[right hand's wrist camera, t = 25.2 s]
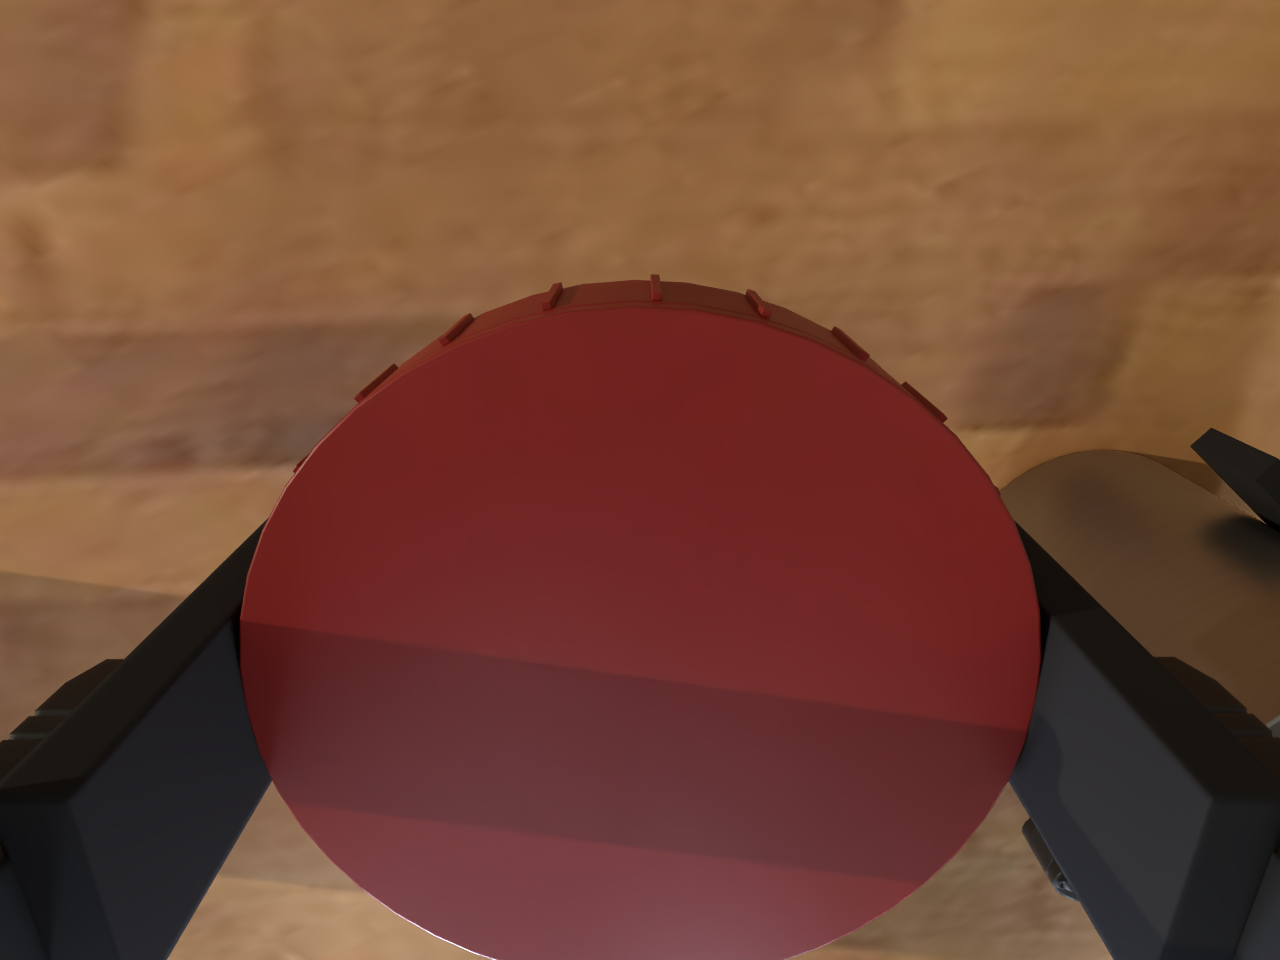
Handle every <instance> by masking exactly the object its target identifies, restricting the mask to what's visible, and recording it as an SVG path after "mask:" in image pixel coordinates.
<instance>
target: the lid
mask: <svg viewBox="0 0 1280 960" xmlns="http://www.w3.org/2000/svg"><path fill="white" fill-rule="evenodd" d="M354 399H355V400H356V401H357V402H358V404H357V405H356V406H355V407H354V408H353V409H352V410H351V411H350V412H349V413H348V414H347V415H346V416H345V417H344V418H343V419H342V420H341V421H340V422H339V423H338V424H337V425H336V426H335V427H334V428H333V429H332V430H331V431H329V432H328V433H327V434H326V435H325V436H324V437H323V438H322V439H321V440H320V441H319V442H318V443H317V444H316V446H315V447H314V448H313V450H312V451H311V452H310V453H309V454H308V455H307V456H306V457H305V458H304V459H303V460H302V461H300V462H299V463H298V464H297V465H296V467H295V468H294V470H293V472H294V473H295V474H294V475H293V477H292V478H291V479H290V481H289V482H288V483H287V485H286V486H285V488H284V490H283V492H282V494H281V496H280V497H279V499H278V501H277V503H276V505H275V507H274V509H273V511H272V513H271V514H270V516H269V518H268V520H267V522H266V524H265V526H264V528H263V530H262V533H261V536H260V539H259V542H258V545H257V548H256V551H255V554H254V556H253V559H252V562H251V565H250V568H249V571H248V574H247V580H246V586H245V592H244V598H243V604H242V610H241V616H240V665H239V667H240V674H241V680H242V686H243V691H244V696H245V701H246V706H247V711H248V715H249V719H250V724H251V728H252V731H253V734H254V737H255V740H256V744H257V747H258V750H259V753H260V755H261V757H262V759H263V761H264V763H265V765H266V767H267V770H268V772H269V774H270V776H271V778H272V780H273V782H274V784H275V786H276V788H277V790H278V792H279V794H280V795H281V797H282V798H283V800H284V801H285V803H286V804H287V806H288V807H289V809H290V810H291V812H292V813H293V815H294V816H295V818H296V819H297V821H298V822H299V824H300V826H301V827H302V828H303V829H304V830H305V832H306V833H307V834H308V835H309V836H310V837H311V839H312V840H313V841H314V842H315V843H316V844H317V846H318V847H319V848H320V849H321V850H322V851H323V853H324V854H325V855H326V856H327V857H328V858H329V860H331V861H332V862H333V863H334V864H335V865H336V866H337V867H338V868H339V869H340V870H342V871H343V872H344V873H345V874H346V875H347V876H348V877H349V878H350V879H351V880H352V881H354V882H355V883H356V884H357V885H358V886H359V887H360V888H361V889H363V890H364V891H365V892H367V893H368V894H370V895H371V896H372V897H374V898H375V899H376V900H378V901H379V902H381V903H382V904H383V905H385V906H386V907H387V908H389V909H390V910H392V911H393V912H394V913H396V914H397V915H399V916H401V917H403V918H404V919H406V920H408V921H410V922H411V923H413V924H415V925H417V926H418V927H420V928H422V929H424V930H425V931H427V932H429V933H431V934H432V935H434V936H437V937H439V938H441V939H443V940H446V941H448V942H450V943H452V944H455V945H457V946H459V947H461V948H464V949H466V950H468V951H471V952H473V953H476V954H479V955H482V956H485V957H488V958H491V959H494V960H787V959H790V958H792V957H795V956H798V955H801V954H804V953H807V952H809V951H812V950H815V949H817V948H820V947H822V946H824V945H826V944H828V943H830V942H832V941H835V940H837V939H839V938H841V937H843V936H845V935H847V934H849V933H852V932H854V931H856V930H857V929H859V928H861V927H862V926H864V925H866V924H867V923H869V922H871V921H872V920H874V919H876V918H877V917H879V916H881V915H882V914H884V913H886V912H887V911H889V910H891V909H892V908H894V907H895V906H896V905H897V904H899V903H900V902H901V901H903V900H904V899H905V898H907V897H908V896H909V895H911V894H912V893H913V892H915V891H916V890H917V889H918V888H920V887H921V886H922V885H924V884H925V883H926V882H927V881H929V880H930V879H931V878H932V877H933V876H934V875H935V874H936V873H937V872H938V871H939V870H940V869H941V868H942V867H943V866H944V865H945V864H946V863H947V862H948V861H949V860H950V859H951V858H952V857H953V856H954V855H956V854H957V853H958V851H959V850H960V849H961V848H962V846H963V845H964V844H965V843H966V842H967V840H968V839H969V838H970V837H971V835H972V834H973V833H974V832H975V830H976V829H977V828H978V827H979V826H980V824H981V823H982V822H983V821H984V819H985V818H986V816H987V815H988V813H989V811H990V810H991V808H992V807H993V805H994V803H995V802H996V800H997V798H998V797H999V795H1000V794H1001V792H1002V790H1003V789H1004V787H1005V786H1006V784H1007V782H1008V780H1009V778H1010V775H1011V773H1012V771H1013V769H1014V766H1015V764H1016V762H1017V760H1018V757H1019V755H1020V753H1021V750H1022V748H1023V746H1024V744H1025V740H1026V737H1027V733H1028V730H1029V725H1030V721H1031V717H1032V712H1033V708H1034V704H1035V699H1036V694H1037V688H1038V683H1039V675H1040V667H1041V659H1042V653H1041V627H1040V609H1039V604H1038V599H1037V594H1036V589H1035V584H1034V579H1033V574H1032V569H1031V564H1030V562H1029V559H1028V556H1027V554H1026V551H1025V548H1024V546H1023V543H1022V540H1021V538H1020V535H1019V532H1018V530H1017V527H1016V524H1015V522H1014V519H1013V518H1012V516H1011V514H1010V512H1009V511H1008V509H1007V507H1006V505H1005V504H1004V502H1003V500H1002V498H1001V497H1000V495H1001V494H1000V492H999V490H998V488H997V487H996V486H995V485H994V484H993V483H992V481H991V479H990V477H989V476H988V474H987V473H986V472H985V471H984V469H983V468H982V467H981V466H980V465H979V463H978V462H977V461H976V460H975V458H974V457H973V456H972V455H971V453H970V452H969V451H968V450H967V448H966V447H965V446H964V445H963V443H962V442H961V441H960V440H959V438H958V437H957V436H956V435H955V434H954V433H953V432H952V431H951V430H950V429H949V428H948V427H947V426H946V425H944V424H943V422H945V421H946V420H947V419H948V418H947V417H946V416H945V415H944V414H943V413H942V412H941V411H940V410H939V409H937V408H936V407H935V406H934V405H933V404H932V403H930V402H929V401H928V400H927V399H926V398H925V397H923V396H922V395H921V394H920V393H919V392H918V391H916V390H915V389H914V388H913V387H912V386H911V385H909V384H908V383H907V382H904V383H903V384H902V385H900V384H899V383H898V382H897V381H896V380H895V379H894V378H892V377H891V376H890V375H889V374H888V373H887V372H886V371H885V370H883V369H882V368H881V367H880V366H879V365H878V364H877V363H876V362H874V361H873V360H872V359H871V358H870V357H869V354H868V353H867V352H866V351H865V350H863V349H862V348H861V347H860V346H859V345H858V344H857V343H855V342H854V341H853V340H852V339H851V338H850V337H849V336H847V335H846V334H845V333H844V332H843V331H842V330H840V329H839V328H837V327H835V326H834V328H833V329H832V331H830V330H828V329H826V328H824V327H822V326H820V325H818V324H816V323H814V322H812V321H810V320H808V319H806V318H804V317H802V316H800V315H798V314H796V313H794V312H792V311H790V310H788V309H786V308H783V307H780V306H777V305H774V304H771V303H768V302H765V301H762V299H761V298H760V297H759V296H758V295H757V293H756V292H755V291H752V290H749V289H747V292H746V295H744V294H741V293H738V292H733V291H728V290H723V289H717V288H712V287H707V286H701V285H696V284H691V283H683V282H663V281H660V278H659V275H651V280H650V281H644V280H628V281H616V282H604V283H592V284H582V285H577V286H572V287H568V288H563V287H562V283H561V282H560V283H556V284H553V286H552V287H551V289H550V290H549V292H545V293H540V294H536V295H532V296H529V297H526V298H524V299H521V300H518V301H515V302H513V303H510V304H507V305H504V306H502V307H499V308H496V309H494V310H491V311H488V312H485V313H483V314H481V315H480V316H478V317H476V318H473V317H472V315H471V313H469V314H467V315H465V316H464V317H463V318H461V319H460V320H459V321H458V322H457V323H456V324H455V325H454V326H453V327H452V328H451V329H450V330H448V331H447V332H446V333H445V334H444V335H442V336H440V337H439V338H438V339H436V340H435V341H434V342H432V343H431V344H430V345H428V346H427V347H425V348H424V349H423V350H421V351H420V352H419V353H417V354H416V355H414V356H413V357H412V358H410V359H409V360H408V361H406V362H405V363H403V364H402V365H401V366H400V367H399V368H398V367H397V366H396V365H395V364H393V365H391V366H390V367H389V368H388V369H387V370H385V371H384V372H383V373H382V374H381V375H380V376H378V377H377V378H376V379H375V380H374V381H373V382H371V383H370V384H369V385H368V386H367V387H366V388H364V389H363V390H362V391H361V392H360V393H359V394H357V395H356V396H355V397H354Z"/></svg>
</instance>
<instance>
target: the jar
mask: <svg viewBox="0 0 1280 960" xmlns="http://www.w3.org/2000/svg"><path fill="white" fill-rule="evenodd" d="M1000 494H1001V495H1000V497H1001V498H1002V500H1003V502H1004V504H1005V505H1006V507H1007V509H1008V511H1009V512H1010V514H1011V516H1012V518H1013V519H1014V520H1015V521H1016V522H1017V523H1018V524H1019V525H1020V526H1021V527H1022V528H1023V529H1024V530H1025V531H1026V532H1027V533H1028V534H1029V535H1030V536H1031V537H1032V538H1033V539H1034V540H1035V541H1036V542H1037V543H1038V544H1039V545H1040V546H1041V547H1042V548H1043V549H1044V550H1045V551H1046V552H1047V553H1048V554H1049V555H1050V556H1051V557H1052V558H1053V559H1054V560H1055V561H1056V562H1058V563H1059V564H1060V565H1061V566H1062V567H1063V568H1064V569H1065V570H1066V571H1067V572H1068V573H1069V574H1070V575H1071V576H1072V577H1073V578H1074V579H1075V580H1076V581H1077V582H1078V583H1079V584H1080V585H1081V586H1082V587H1083V588H1084V589H1085V590H1086V591H1087V592H1088V593H1089V594H1090V595H1091V596H1092V597H1093V598H1094V599H1095V600H1096V601H1097V602H1098V603H1099V604H1100V605H1101V606H1102V607H1103V608H1104V609H1105V610H1106V611H1107V612H1109V613H1110V614H1111V615H1112V616H1113V617H1114V618H1115V619H1116V620H1117V621H1118V622H1119V623H1120V624H1121V625H1122V626H1123V627H1124V628H1125V629H1126V630H1127V631H1128V632H1129V633H1130V634H1131V635H1132V636H1133V637H1134V638H1135V639H1136V640H1137V641H1138V642H1139V643H1140V644H1141V645H1142V646H1143V647H1144V648H1145V649H1146V650H1147V651H1148V652H1149V653H1150V654H1151V655H1152V656H1153V657H1176V658H1178V659H1179V660H1181V661H1183V662H1185V663H1187V664H1188V665H1190V666H1192V667H1194V668H1195V669H1197V670H1199V671H1201V672H1202V673H1204V674H1206V675H1208V676H1209V677H1211V678H1213V679H1215V680H1216V681H1218V682H1219V683H1220V684H1221V685H1222V686H1223V687H1224V688H1225V689H1226V690H1227V691H1228V692H1230V693H1231V694H1232V695H1233V696H1234V697H1235V698H1236V699H1237V700H1238V701H1239V702H1241V703H1242V704H1243V705H1244V706H1245V707H1246V708H1247V709H1246V711H1247V713H1248V714H1254V715H1255V716H1256V717H1257V718H1258V719H1259V720H1260V721H1261V722H1262V723H1263V724H1265V725H1266V726H1267V727H1268V728H1269V729H1270V730H1271V731H1272V736H1273V737H1279V738H1280V532H1278V531H1277V530H1275V529H1273V528H1271V527H1270V526H1268V525H1266V524H1264V523H1263V522H1261V521H1259V520H1258V519H1256V518H1254V517H1252V516H1251V515H1249V514H1247V513H1245V512H1244V511H1242V510H1240V509H1238V508H1237V507H1235V506H1233V505H1231V504H1230V503H1228V502H1226V501H1224V500H1223V499H1221V498H1219V497H1217V496H1216V495H1214V494H1212V493H1210V492H1209V491H1207V490H1205V489H1204V488H1202V487H1200V486H1198V485H1197V484H1195V483H1193V482H1191V481H1190V480H1188V479H1186V478H1184V477H1183V476H1181V475H1179V474H1177V473H1176V472H1174V471H1172V470H1170V469H1169V468H1167V467H1165V466H1163V465H1162V464H1160V463H1158V462H1156V461H1154V460H1152V459H1149V458H1147V457H1144V456H1142V455H1138V454H1134V453H1130V452H1125V451H1115V450H1092V451H1085V452H1078V453H1073V454H1069V455H1065V456H1062V457H1058V458H1056V459H1053V460H1050V461H1048V462H1045V463H1043V464H1041V465H1039V466H1037V467H1035V468H1033V469H1031V470H1029V471H1027V472H1026V473H1024V474H1023V475H1021V476H1020V477H1018V478H1017V479H1015V480H1013V481H1012V482H1011V483H1010V484H1009V485H1007V486H1006V487H1005V488H1004V489H1003V490H1001V491H1000Z"/></svg>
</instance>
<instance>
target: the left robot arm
mask: <svg viewBox="0 0 1280 960" xmlns="http://www.w3.org/2000/svg"><path fill="white" fill-rule="evenodd" d="M1190 447H1191V448H1192V449H1193V450H1194V451H1195V452H1196V453H1197V454H1198V455H1199V456H1200V457H1201V458H1202V459H1203V460H1204V461H1205V462H1206V463H1207V464H1208V465H1209V466H1210V467H1211V468H1212V469H1213V470H1214V471H1215V472H1216V473H1217V474H1218V475H1219V476H1220V477H1221V478H1222V479H1223V480H1224V481H1225V482H1226V483H1227V484H1228V485H1229V486H1230V487H1231V488H1232V489H1233V491H1234V492H1235V493H1236V494H1237V495H1238V496H1239V497H1240V498H1241V499H1242V500H1243V501H1244V502H1245V503H1246V504H1247V505H1248V506H1249V507H1250V508H1251V509H1252V510H1253V511H1254V512H1255V513H1256V514H1257V515H1258V516H1259V517H1260V518H1261V519H1262V520H1263V521H1264V522H1265V523H1266V524H1267V525H1268V526H1270V527H1271V528H1273V529H1275V530H1277V531H1278V532H1280V460H1279V459H1278V458H1275V457H1273V456H1271V455H1269V454H1267V453H1265V452H1263V451H1260V450H1258V449H1256V448H1254V447H1252V446H1250V445H1247V444H1245V443H1243V442H1241V441H1239V440H1237V439H1234V438H1232V437H1230V436H1228V435H1226V434H1224V433H1221V432H1219V431H1217V430H1215V429H1213V428H1210V429H1209V430H1208V431H1207V432H1206V433H1205V434H1204V435H1202V436H1201V437H1200V438H1199V439H1198V440H1197V441H1196V442H1194V443H1193V444H1192V445H1191V446H1190ZM1022 833H1023V835H1024V836H1025V838H1026V840H1027V842H1028V843H1029V845H1030V847H1031V849H1032V851H1033V852H1034V854H1035V856H1036V858H1037V859H1038V861H1039V863H1040V864H1041V866H1042V868H1043V870H1044V871H1045V873H1046V875H1047V877H1048V878H1049V880H1050V881H1051V883H1052V885H1053V886H1054V888H1055V890H1056V892H1058V893H1059V894H1061V895H1063V896H1066V897H1068V898H1071V899H1073V900H1075V901H1078V902H1080V901H1079V900H1078V898H1077V896H1076V895H1075V893H1074V891H1073V890H1072V888H1071V886H1070V884H1069V883H1068V881H1067V879H1066V878H1065V876H1064V874H1063V872H1062V871H1061V869H1060V867H1059V866H1058V864H1057V862H1056V861H1055V859H1054V857H1053V855H1052V854H1051V852H1050V850H1049V849H1048V847H1047V845H1046V844H1045V842H1044V840H1043V838H1042V837H1041V835H1040V833H1039V832H1038V830H1037V828H1036V826H1035V825H1034V823H1033V821H1032V820H1031V818H1030V819H1028V820H1027V821H1026V822H1025V823H1024V825H1023V827H1022Z"/></svg>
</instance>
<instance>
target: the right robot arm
mask: <svg viewBox="0 0 1280 960" xmlns="http://www.w3.org/2000/svg"><path fill="white" fill-rule="evenodd" d="M267 520H268V519H267ZM267 520H266V521H265V522H264V523H263V524H262V525H261V526H260V527H259V528H258V529H257V530H256V531H255V532H254V533H253V534H252V535H251V536H250V537H249V538H248V539H247V540H245V541H244V542H243V543H242V544H241V545H240V546H239V547H238V548H237V549H236V550H235V551H234V552H233V553H232V554H231V555H230V556H229V557H228V558H227V559H226V560H225V561H224V562H223V563H222V564H221V565H220V566H219V567H218V568H217V569H216V570H215V571H214V572H213V573H212V574H211V575H210V576H209V577H208V578H207V579H206V580H205V581H204V582H203V583H202V584H201V585H200V586H199V587H198V588H197V589H196V590H194V591H193V592H192V593H191V594H190V595H189V596H188V597H187V598H186V599H185V600H184V601H183V602H182V603H181V604H180V605H179V606H178V607H177V608H176V609H175V610H174V611H173V612H172V613H171V614H170V615H169V616H168V617H167V618H166V619H165V620H164V621H163V622H162V623H161V624H160V625H159V626H158V627H157V628H156V629H155V630H154V631H153V632H152V633H151V634H150V635H149V636H148V637H147V638H146V639H145V640H143V641H142V642H141V643H140V644H139V645H138V646H137V647H136V648H135V649H134V650H133V651H132V652H131V653H130V654H129V655H128V656H127V657H126V658H125V659H106V660H105V661H103V662H101V663H99V664H98V665H96V666H94V667H92V668H91V669H89V670H87V671H85V672H84V673H82V674H80V675H78V676H77V677H75V678H73V679H71V680H70V681H68V682H66V683H65V684H64V685H63V686H61V687H60V688H59V689H58V690H57V691H56V692H55V693H54V694H53V695H52V696H51V697H50V698H48V699H47V700H46V701H45V702H44V703H43V704H42V705H41V706H40V707H39V708H38V709H36V710H35V715H34V716H29V717H28V718H27V719H26V720H25V721H23V722H22V723H21V724H20V725H19V726H18V727H17V728H16V729H15V730H14V731H13V732H12V733H10V738H9V740H3V741H2V742H1V743H0V960H167V959H168V957H169V955H170V953H171V952H172V950H173V948H174V947H175V945H176V943H177V942H178V940H179V938H180V936H181V935H182V933H183V931H184V930H185V928H186V926H187V924H188V923H189V921H190V919H191V918H192V916H193V914H194V913H195V911H196V909H197V907H198V906H199V904H200V902H201V901H202V899H203V897H204V896H205V894H206V892H207V890H208V889H209V887H210V885H211V884H212V882H213V880H214V878H215V877H216V875H217V873H218V872H219V870H220V868H221V867H222V865H223V863H224V861H225V860H226V858H227V856H228V855H229V853H230V851H231V850H232V848H233V846H234V844H235V843H236V841H237V839H238V838H239V836H240V834H241V832H242V831H243V829H244V827H245V826H246V824H247V822H248V821H249V819H250V817H251V815H252V814H253V812H254V810H255V809H256V807H257V805H258V804H259V802H260V800H261V798H262V797H263V795H264V793H265V792H266V790H267V788H268V786H269V785H270V783H271V781H272V778H271V776H270V774H269V772H268V770H267V767H266V765H265V763H264V761H263V759H262V757H261V755H260V753H259V750H258V747H257V744H256V740H255V737H254V734H253V731H252V728H251V724H250V719H249V715H248V711H247V706H246V701H245V696H244V691H243V686H242V680H241V674H240V667H239V665H240V616H241V610H242V604H243V598H244V592H245V586H246V580H247V574H248V571H249V568H250V565H251V562H252V559H253V556H254V554H255V551H256V548H257V545H258V542H259V539H260V536H261V533H262V530H263V528H264V526H265V524H266V522H267ZM1014 522H1015V524H1016V527H1017V530H1018V532H1019V535H1020V538H1021V540H1022V543H1023V546H1024V548H1025V551H1026V554H1027V556H1028V559H1029V562H1030V564H1031V569H1032V574H1033V579H1034V584H1035V589H1036V594H1037V599H1038V604H1039V609H1040V627H1041V653H1042V659H1041V667H1040V675H1039V683H1038V688H1037V694H1036V699H1035V704H1034V708H1033V712H1032V717H1031V721H1030V725H1029V730H1028V733H1027V737H1026V740H1025V744H1024V746H1023V748H1022V750H1021V753H1020V755H1019V757H1018V760H1017V762H1016V764H1015V766H1014V769H1013V771H1012V773H1011V775H1010V778H1009V782H1010V784H1011V786H1012V787H1013V789H1014V791H1015V792H1016V794H1017V796H1018V798H1019V799H1020V801H1021V803H1022V804H1023V806H1024V808H1025V809H1026V811H1027V813H1028V815H1029V816H1030V818H1031V820H1032V821H1033V823H1034V825H1035V826H1036V828H1037V830H1038V832H1039V833H1040V835H1041V837H1042V838H1043V840H1044V842H1045V844H1046V845H1047V847H1048V849H1049V850H1050V852H1051V854H1052V855H1053V857H1054V859H1055V861H1056V862H1057V864H1058V866H1059V867H1060V869H1061V871H1062V872H1063V874H1064V876H1065V878H1066V879H1067V881H1068V883H1069V884H1070V886H1071V888H1072V890H1073V891H1074V893H1075V895H1076V896H1077V898H1078V900H1079V901H1080V903H1081V905H1082V907H1083V908H1084V910H1085V912H1086V913H1087V915H1088V917H1089V918H1090V920H1091V922H1092V924H1093V925H1094V927H1095V929H1096V930H1097V932H1098V934H1099V935H1100V937H1101V939H1102V941H1103V942H1104V944H1105V946H1106V947H1107V949H1108V951H1109V953H1110V954H1111V956H1112V958H1113V959H1114V960H1280V738H1279V737H1273V736H1272V731H1271V730H1270V729H1269V728H1268V727H1267V726H1266V725H1265V724H1263V723H1262V722H1261V721H1260V720H1259V719H1258V718H1257V717H1256V716H1255V715H1254V714H1248V713H1247V711H1246V709H1247V708H1246V707H1245V706H1244V705H1243V704H1242V703H1241V702H1239V701H1238V700H1237V699H1236V698H1235V697H1234V696H1233V695H1232V694H1231V693H1230V692H1228V691H1227V690H1226V689H1225V688H1224V687H1223V686H1222V685H1221V684H1220V683H1219V682H1218V681H1216V680H1215V679H1213V678H1211V677H1209V676H1208V675H1206V674H1204V673H1202V672H1201V671H1199V670H1197V669H1195V668H1194V667H1192V666H1190V665H1188V664H1187V663H1185V662H1183V661H1181V660H1179V659H1178V658H1176V657H1153V656H1152V655H1151V654H1150V653H1149V652H1148V651H1147V650H1146V649H1145V648H1144V647H1143V646H1142V645H1141V644H1140V643H1139V642H1138V641H1137V640H1136V639H1135V638H1134V637H1133V636H1132V635H1131V634H1130V633H1129V632H1128V631H1127V630H1126V629H1125V628H1124V627H1123V626H1122V625H1121V624H1120V623H1119V622H1118V621H1117V620H1116V619H1115V618H1114V617H1113V616H1112V615H1111V614H1110V613H1109V612H1107V611H1106V610H1105V609H1104V608H1103V607H1102V606H1101V605H1100V604H1099V603H1098V602H1097V601H1096V600H1095V599H1094V598H1093V597H1092V596H1091V595H1090V594H1089V593H1088V592H1087V591H1086V590H1085V589H1084V588H1083V587H1082V586H1081V585H1080V584H1079V583H1078V582H1077V581H1076V580H1075V579H1074V578H1073V577H1072V576H1071V575H1070V574H1069V573H1068V572H1067V571H1066V570H1065V569H1064V568H1063V567H1062V566H1061V565H1060V564H1059V563H1058V562H1056V561H1055V560H1054V559H1053V558H1052V557H1051V556H1050V555H1049V554H1048V553H1047V552H1046V551H1045V550H1044V549H1043V548H1042V547H1041V546H1040V545H1039V544H1038V543H1037V542H1036V541H1035V540H1034V539H1033V538H1032V537H1031V536H1030V535H1029V534H1028V533H1027V532H1026V531H1025V530H1024V529H1023V528H1022V527H1021V526H1020V525H1019V524H1018V523H1017V522H1016V521H1015V520H1014Z"/></svg>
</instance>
